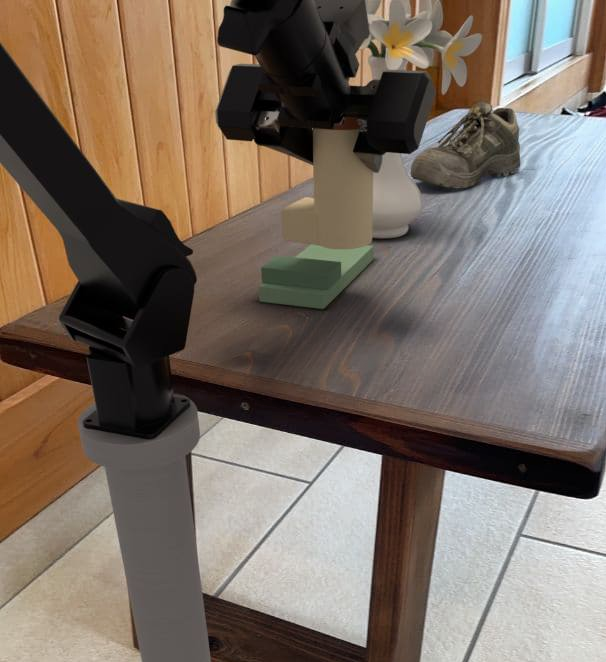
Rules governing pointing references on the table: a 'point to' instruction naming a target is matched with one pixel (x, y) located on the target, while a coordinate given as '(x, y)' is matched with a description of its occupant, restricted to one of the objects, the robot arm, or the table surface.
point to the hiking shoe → (472, 149)
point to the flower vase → (402, 46)
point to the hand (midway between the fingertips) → (349, 165)
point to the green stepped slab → (312, 275)
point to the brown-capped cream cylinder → (334, 194)
